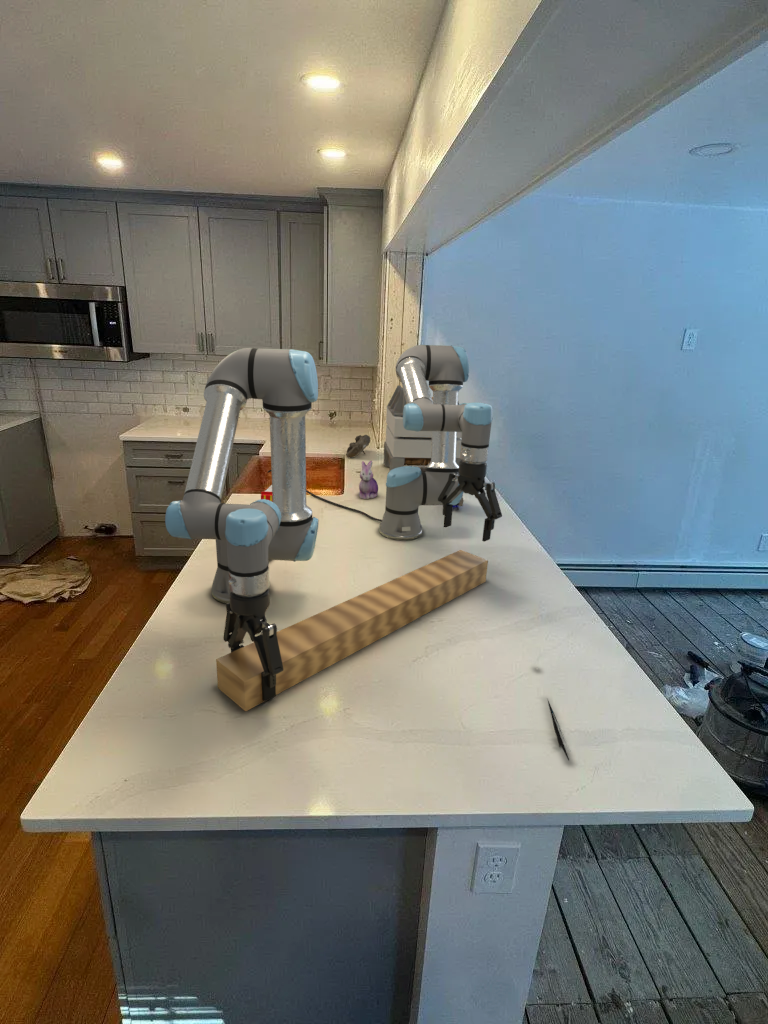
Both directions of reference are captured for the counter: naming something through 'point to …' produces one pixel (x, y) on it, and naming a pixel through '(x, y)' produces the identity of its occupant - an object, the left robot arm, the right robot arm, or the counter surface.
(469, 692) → the counter surface
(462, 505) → the figurine character
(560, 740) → the feather
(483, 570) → the long beam
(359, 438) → the fossil
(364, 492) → the figurine
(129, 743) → the counter surface
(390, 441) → the grey slatted crate
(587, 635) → the counter surface
